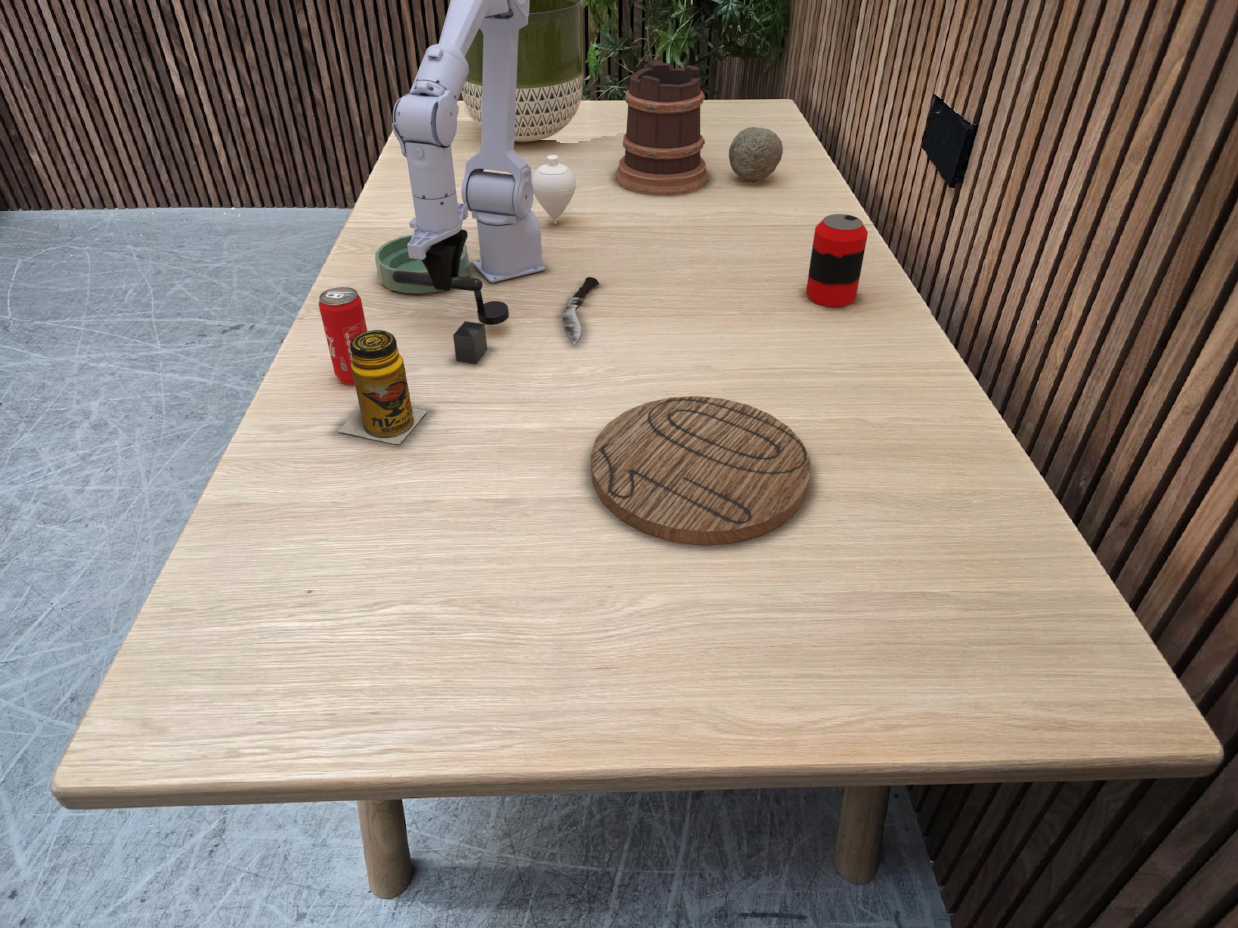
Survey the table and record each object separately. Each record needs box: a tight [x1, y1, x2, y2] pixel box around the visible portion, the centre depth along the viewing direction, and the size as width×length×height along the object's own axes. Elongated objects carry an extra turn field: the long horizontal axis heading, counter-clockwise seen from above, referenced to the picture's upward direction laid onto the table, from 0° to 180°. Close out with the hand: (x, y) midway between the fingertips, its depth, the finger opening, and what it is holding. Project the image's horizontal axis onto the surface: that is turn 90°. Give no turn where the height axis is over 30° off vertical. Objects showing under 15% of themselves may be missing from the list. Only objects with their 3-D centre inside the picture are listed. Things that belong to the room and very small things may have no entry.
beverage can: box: [318, 286, 368, 386], centre depth 115 cm, size 5×5×12 cm
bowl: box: [374, 233, 471, 294], centre depth 140 cm, size 14×14×4 cm
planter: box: [460, 0, 585, 143], centre depth 186 cm, size 27×27×27 cm
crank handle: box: [392, 270, 510, 326], centre depth 126 cm, size 17×4×6 cm, turn 74°
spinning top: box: [531, 154, 577, 225], centre depth 154 cm, size 8×8×12 cm
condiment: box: [337, 329, 428, 445], centre depth 106 cm, size 7×8×12 cm
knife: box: [561, 276, 600, 346], centre depth 132 cm, size 18×1×5 cm
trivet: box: [590, 395, 811, 546], centre depth 102 cm, size 25×25×2 cm
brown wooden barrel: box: [615, 59, 710, 196], centre depth 170 cm, size 18×23×20 cm
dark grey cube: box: [452, 320, 488, 365], centre depth 121 cm, size 3×4×4 cm
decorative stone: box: [728, 126, 784, 183], centre depth 171 cm, size 10×8×10 cm
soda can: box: [805, 213, 869, 308], centre depth 132 cm, size 8×8×12 cm
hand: (446, 285), depth 125 cm, fingers closed on crank handle, 2 cm apart
